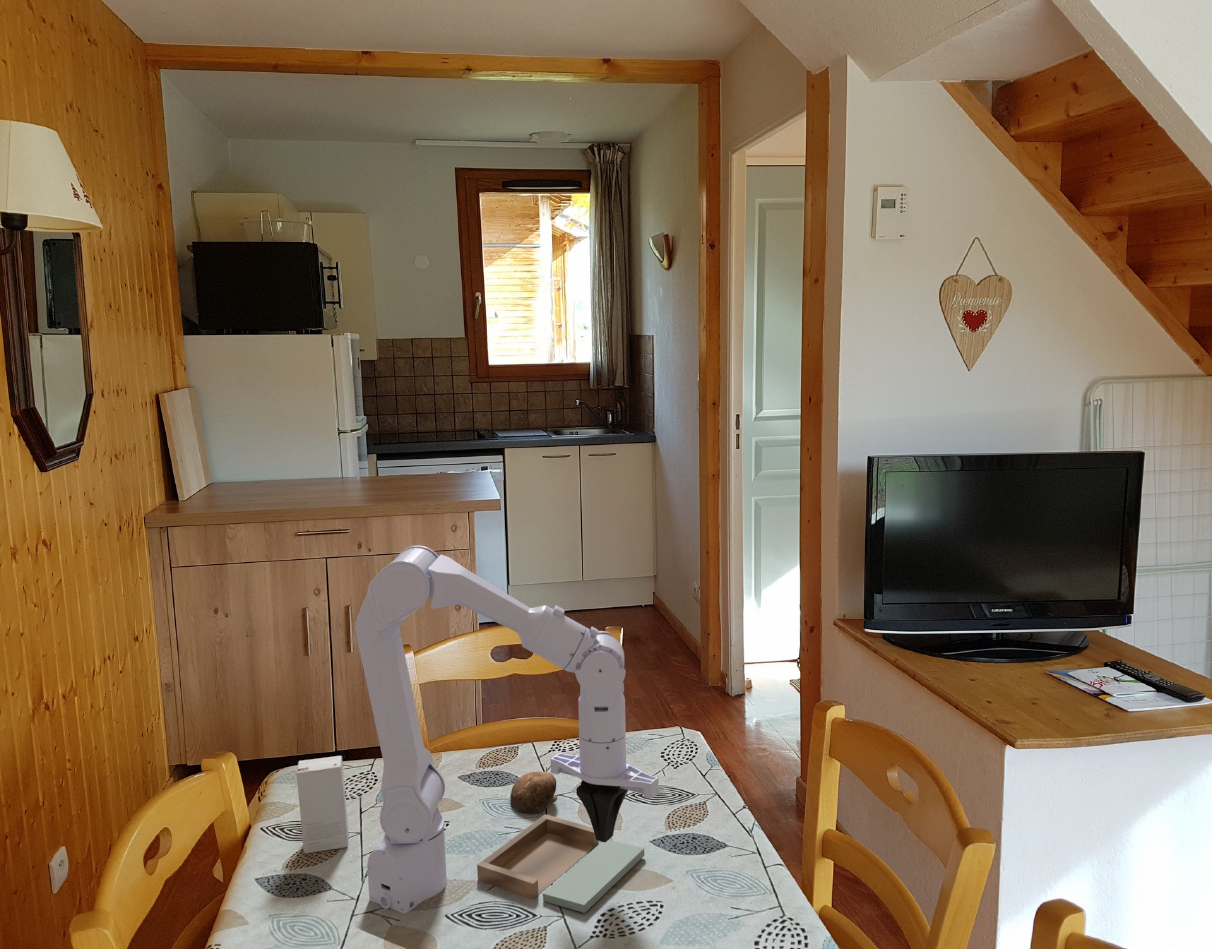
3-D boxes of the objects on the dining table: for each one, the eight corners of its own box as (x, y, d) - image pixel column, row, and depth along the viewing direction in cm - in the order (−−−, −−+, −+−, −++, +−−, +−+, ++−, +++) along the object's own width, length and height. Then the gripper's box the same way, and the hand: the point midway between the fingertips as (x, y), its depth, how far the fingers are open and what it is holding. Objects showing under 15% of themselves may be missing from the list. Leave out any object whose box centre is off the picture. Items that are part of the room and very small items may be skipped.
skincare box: (349, 833, 135) (344, 753, 134) (348, 849, 131) (343, 766, 129) (304, 840, 134) (298, 758, 132) (302, 856, 129) (296, 772, 128)
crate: (478, 890, 120) (477, 865, 120) (545, 837, 133) (545, 814, 132) (534, 910, 116) (533, 883, 115) (598, 853, 128) (597, 829, 128)
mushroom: (572, 779, 144) (548, 753, 141) (566, 822, 137) (541, 795, 134) (531, 796, 146) (506, 771, 144) (522, 839, 139) (497, 814, 137)
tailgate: (542, 893, 115) (584, 905, 112) (605, 839, 127) (644, 848, 124) (543, 901, 115) (584, 913, 112) (605, 846, 127) (644, 855, 124)
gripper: (669, 733, 116) (671, 837, 118) (571, 712, 123) (573, 810, 125) (641, 755, 110) (643, 864, 112) (539, 731, 117) (542, 834, 119)
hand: (604, 837), depth 118 cm, fingers closed
